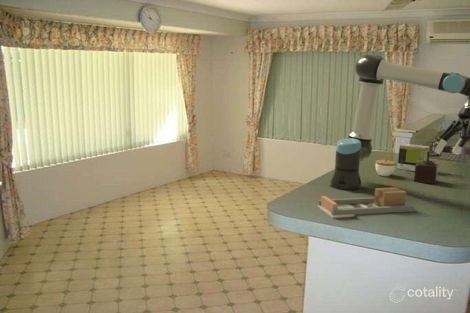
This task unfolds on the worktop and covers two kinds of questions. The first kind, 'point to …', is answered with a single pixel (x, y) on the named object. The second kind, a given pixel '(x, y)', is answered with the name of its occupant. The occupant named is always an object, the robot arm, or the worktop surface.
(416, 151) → the tea box
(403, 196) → the walnut block
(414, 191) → the worktop surface
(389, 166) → the lidded jar
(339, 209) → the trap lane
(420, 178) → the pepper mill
